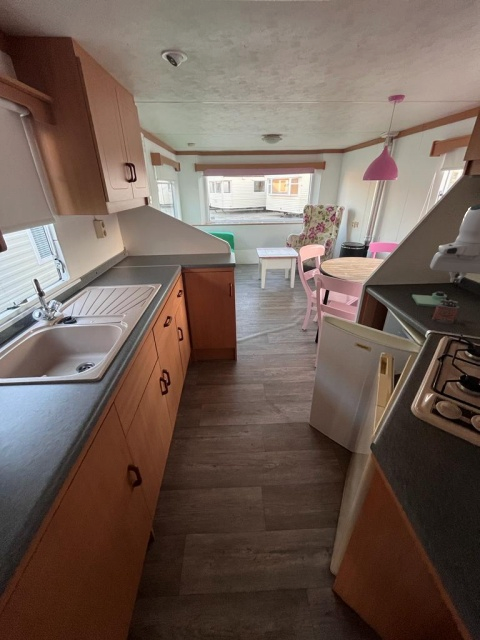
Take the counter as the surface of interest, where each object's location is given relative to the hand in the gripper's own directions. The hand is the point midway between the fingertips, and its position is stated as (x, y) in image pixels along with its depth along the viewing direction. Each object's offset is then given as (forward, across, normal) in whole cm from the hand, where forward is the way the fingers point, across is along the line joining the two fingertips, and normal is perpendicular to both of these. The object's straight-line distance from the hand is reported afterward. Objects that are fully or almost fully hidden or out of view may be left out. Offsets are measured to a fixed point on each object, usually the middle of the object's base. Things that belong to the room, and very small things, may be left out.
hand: (454, 282), depth 111 cm
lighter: (+18, 0, +1) cm, 18 cm away
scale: (+18, -1, -21) cm, 27 cm away
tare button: (+15, -6, -24) cm, 29 cm away
